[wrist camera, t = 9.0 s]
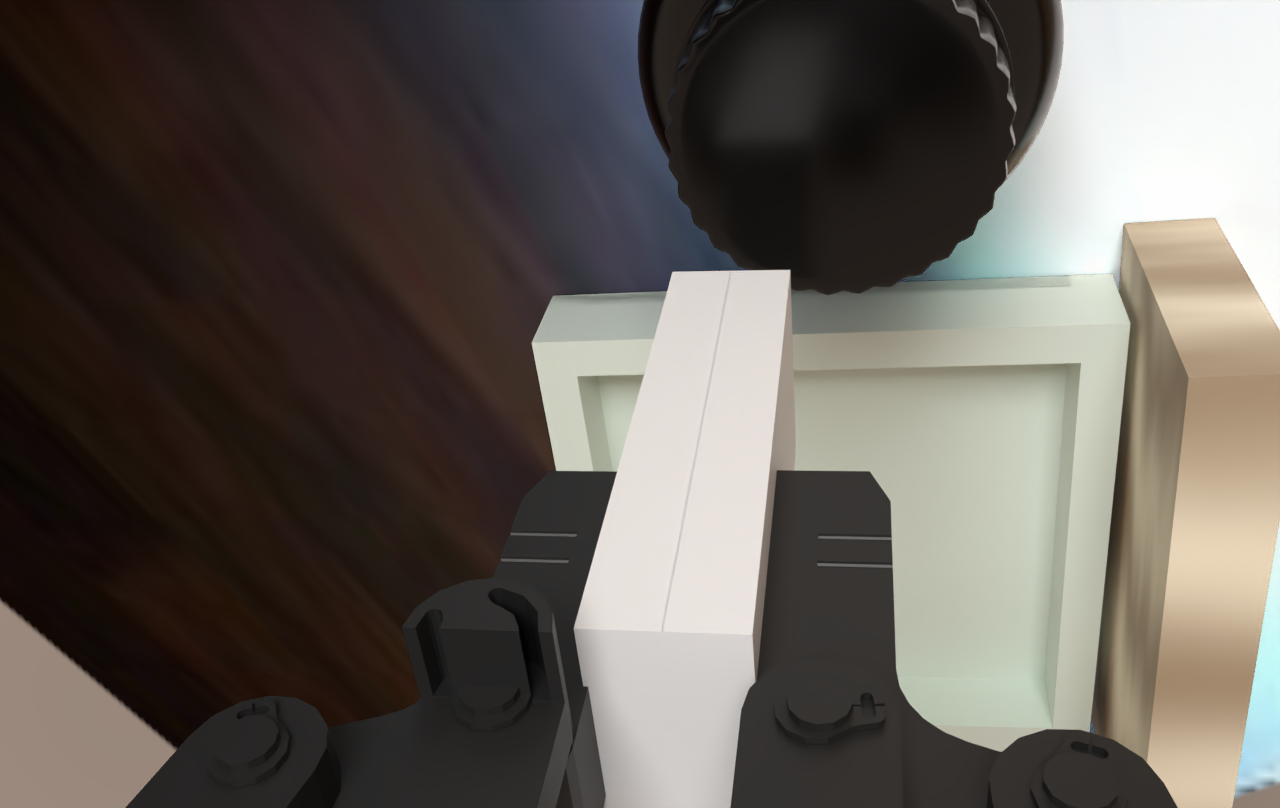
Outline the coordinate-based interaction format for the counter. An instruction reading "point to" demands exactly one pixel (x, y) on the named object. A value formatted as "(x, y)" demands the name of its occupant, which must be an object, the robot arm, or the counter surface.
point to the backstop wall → (1189, 509)
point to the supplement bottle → (845, 124)
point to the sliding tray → (928, 465)
